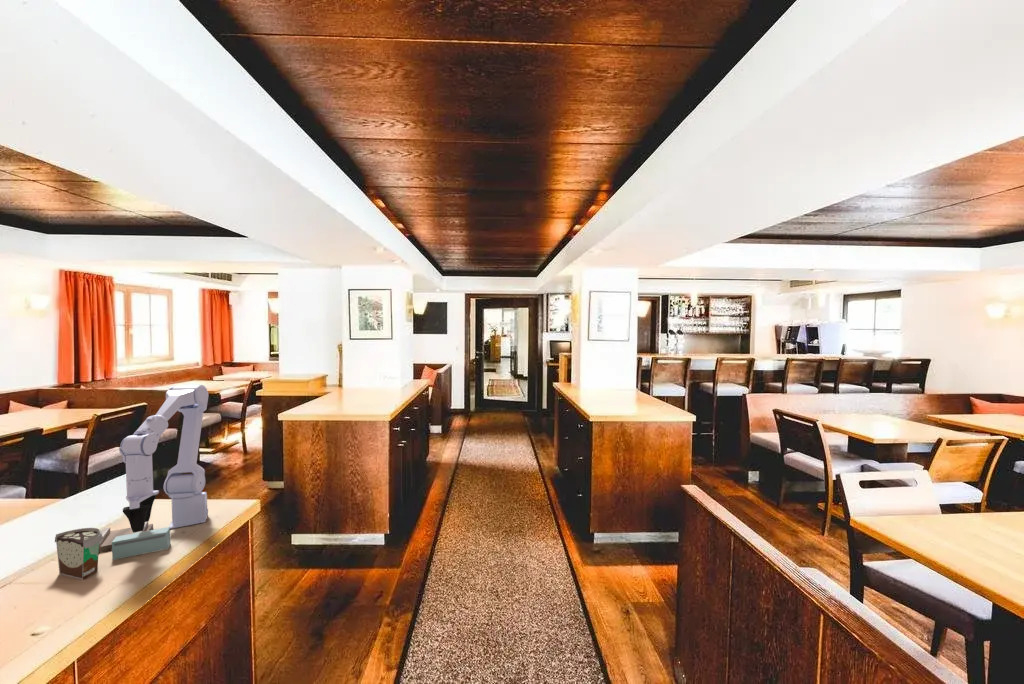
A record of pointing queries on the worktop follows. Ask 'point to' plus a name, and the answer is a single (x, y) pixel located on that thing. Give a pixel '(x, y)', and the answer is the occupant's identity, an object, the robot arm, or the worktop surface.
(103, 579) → the worktop surface
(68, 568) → the food container
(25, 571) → the worktop surface
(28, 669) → the worktop surface
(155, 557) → the worktop surface
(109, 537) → the display stand
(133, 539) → the glasses case
